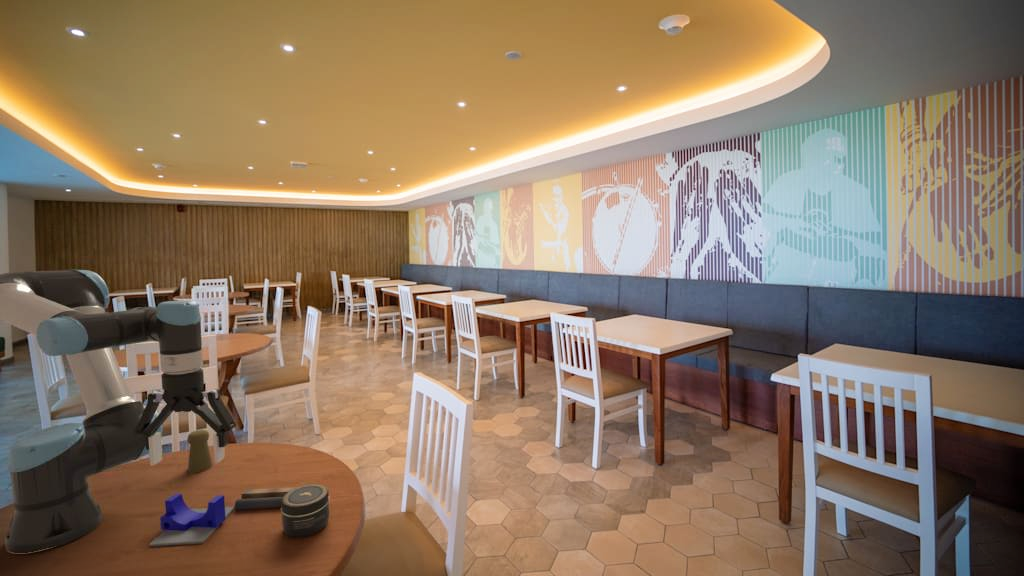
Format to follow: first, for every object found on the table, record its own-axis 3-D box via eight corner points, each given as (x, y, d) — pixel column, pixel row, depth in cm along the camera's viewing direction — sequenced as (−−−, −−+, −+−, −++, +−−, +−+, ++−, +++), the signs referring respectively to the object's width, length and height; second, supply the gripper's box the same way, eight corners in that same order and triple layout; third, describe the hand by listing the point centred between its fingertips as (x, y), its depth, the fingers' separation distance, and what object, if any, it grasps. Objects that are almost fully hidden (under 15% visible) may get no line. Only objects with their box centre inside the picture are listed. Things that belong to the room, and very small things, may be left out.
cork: (216, 465, 131) (214, 430, 130) (193, 474, 126) (190, 437, 125) (206, 460, 134) (204, 425, 133) (183, 469, 129) (181, 432, 128)
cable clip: (161, 529, 100) (159, 504, 100) (177, 517, 104) (175, 493, 104) (211, 531, 99) (209, 506, 99) (225, 519, 104) (224, 495, 103)
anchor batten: (241, 503, 111) (241, 493, 111) (245, 499, 113) (245, 489, 113) (299, 500, 112) (298, 490, 112) (302, 496, 114) (301, 486, 114)
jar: (285, 518, 105) (284, 487, 104) (330, 509, 108) (329, 479, 108) (279, 544, 96) (277, 510, 95) (329, 534, 99) (327, 501, 98)
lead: (235, 512, 108) (234, 502, 108) (240, 506, 110) (239, 497, 110) (294, 508, 109) (293, 499, 109) (298, 503, 112) (297, 494, 111)
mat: (149, 546, 95) (148, 544, 95) (187, 511, 108) (187, 509, 108) (202, 543, 96) (202, 541, 96) (235, 508, 109) (234, 506, 109)
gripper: (108, 376, 94) (116, 471, 96) (232, 373, 96) (237, 467, 98) (135, 366, 101) (142, 455, 103) (249, 364, 103) (253, 451, 105)
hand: (188, 461), depth 100 cm, fingers open, 13 cm apart
